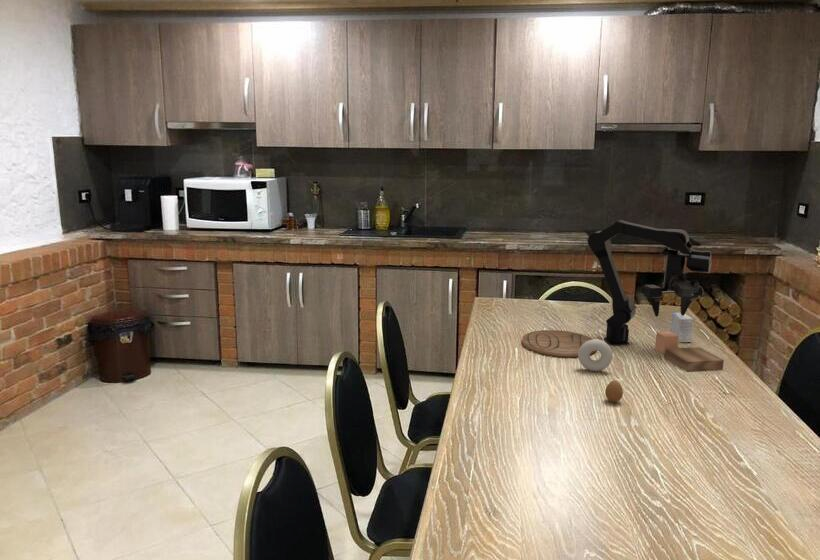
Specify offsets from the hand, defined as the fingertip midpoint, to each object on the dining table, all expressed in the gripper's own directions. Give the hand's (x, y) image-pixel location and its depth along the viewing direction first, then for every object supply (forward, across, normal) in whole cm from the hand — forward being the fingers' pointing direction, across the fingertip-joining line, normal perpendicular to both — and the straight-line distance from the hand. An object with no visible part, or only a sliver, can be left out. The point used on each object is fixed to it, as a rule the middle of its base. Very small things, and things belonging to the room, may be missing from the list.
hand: (669, 315), depth 207 cm
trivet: (+13, -33, +10) cm, 37 cm away
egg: (+12, -37, -36) cm, 53 cm away
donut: (+12, -32, -14) cm, 37 cm away
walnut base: (+12, +2, -12) cm, 17 cm away
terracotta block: (+12, 0, 0) cm, 12 cm away
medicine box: (+12, +12, +11) cm, 20 cm away
